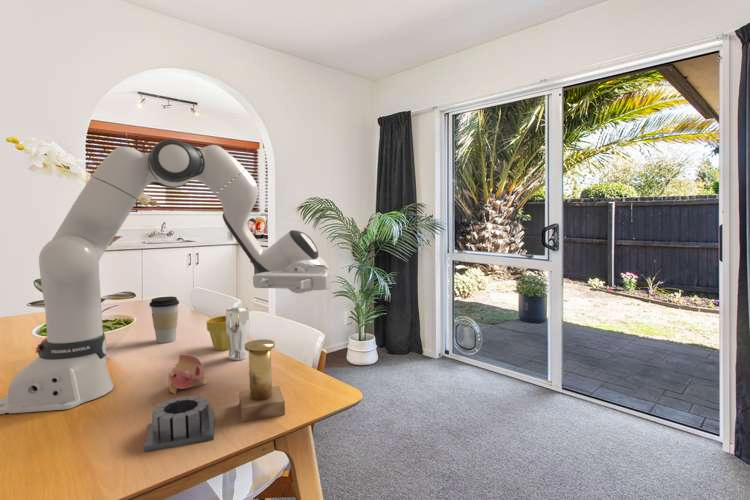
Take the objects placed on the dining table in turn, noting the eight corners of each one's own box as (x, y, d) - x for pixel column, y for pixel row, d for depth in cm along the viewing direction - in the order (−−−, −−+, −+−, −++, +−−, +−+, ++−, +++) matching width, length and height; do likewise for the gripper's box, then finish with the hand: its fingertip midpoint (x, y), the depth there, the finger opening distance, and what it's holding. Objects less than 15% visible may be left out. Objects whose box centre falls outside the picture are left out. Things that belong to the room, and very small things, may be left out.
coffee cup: (172, 344, 143) (170, 301, 142) (145, 344, 143) (143, 301, 142) (185, 336, 153) (183, 296, 151) (159, 336, 153) (157, 296, 152)
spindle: (247, 404, 90) (245, 349, 89) (245, 392, 96) (243, 341, 95) (277, 399, 92) (276, 346, 92) (273, 388, 98) (272, 338, 98)
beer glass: (243, 361, 126) (241, 312, 125) (222, 360, 127) (220, 311, 126) (254, 354, 133) (253, 307, 131) (234, 353, 134) (232, 306, 133)
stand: (241, 421, 89) (241, 407, 89) (239, 404, 97) (239, 391, 97) (284, 414, 92) (284, 401, 92) (279, 398, 100) (278, 385, 100)
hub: (143, 451, 78) (142, 425, 77) (153, 422, 89) (151, 399, 88) (213, 439, 82) (212, 414, 81) (214, 412, 93) (213, 390, 93)
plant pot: (200, 350, 137) (199, 320, 136) (223, 341, 146) (222, 314, 146) (225, 354, 133) (224, 323, 132) (247, 345, 142) (246, 316, 142)
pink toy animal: (155, 395, 103) (165, 359, 110) (193, 404, 109) (201, 370, 115) (171, 383, 99) (181, 346, 105) (211, 393, 104) (218, 357, 111)
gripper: (265, 265, 120) (241, 272, 106) (334, 266, 116) (319, 273, 102) (265, 287, 120) (242, 296, 107) (335, 288, 116) (319, 298, 103)
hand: (280, 285), depth 104 cm, fingers open, 8 cm apart
